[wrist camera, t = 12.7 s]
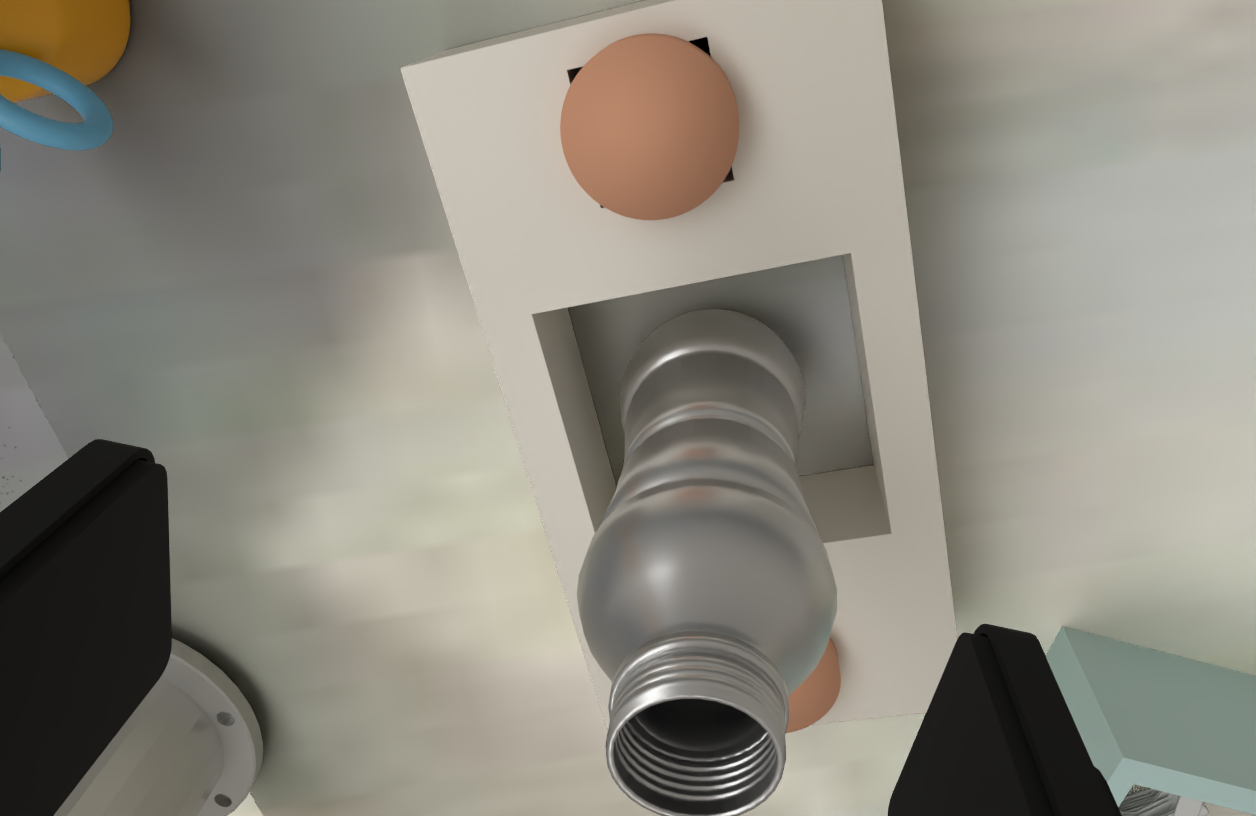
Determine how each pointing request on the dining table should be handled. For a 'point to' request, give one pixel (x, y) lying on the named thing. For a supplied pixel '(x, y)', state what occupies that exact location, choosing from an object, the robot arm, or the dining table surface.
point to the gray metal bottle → (706, 569)
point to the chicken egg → (816, 692)
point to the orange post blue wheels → (59, 65)
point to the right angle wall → (1160, 724)
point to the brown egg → (650, 127)
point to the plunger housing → (700, 251)
